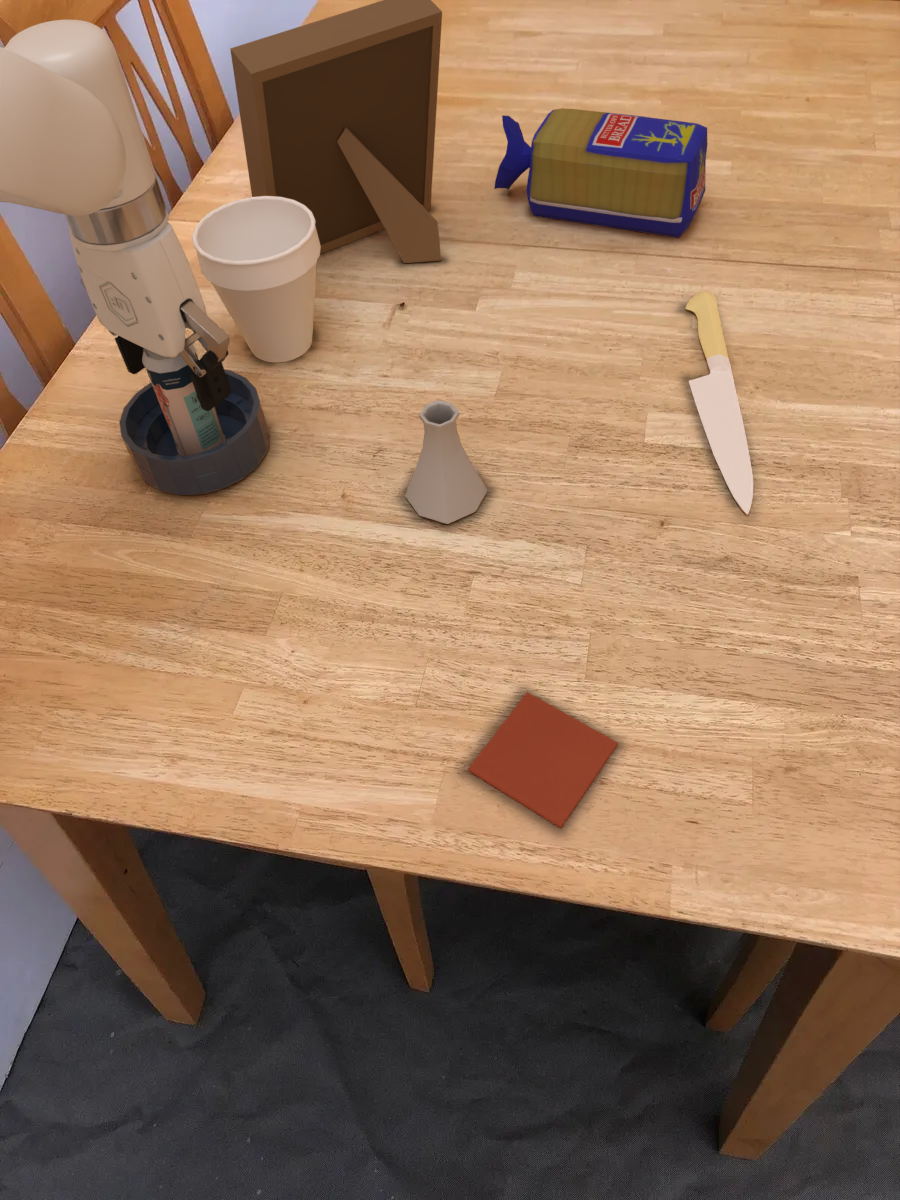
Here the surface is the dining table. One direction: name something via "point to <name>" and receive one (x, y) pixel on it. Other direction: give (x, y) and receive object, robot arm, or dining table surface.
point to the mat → (543, 759)
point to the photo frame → (348, 122)
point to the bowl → (205, 469)
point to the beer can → (182, 404)
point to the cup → (263, 271)
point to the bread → (610, 169)
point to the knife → (721, 403)
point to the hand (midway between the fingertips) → (179, 383)
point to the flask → (444, 469)
